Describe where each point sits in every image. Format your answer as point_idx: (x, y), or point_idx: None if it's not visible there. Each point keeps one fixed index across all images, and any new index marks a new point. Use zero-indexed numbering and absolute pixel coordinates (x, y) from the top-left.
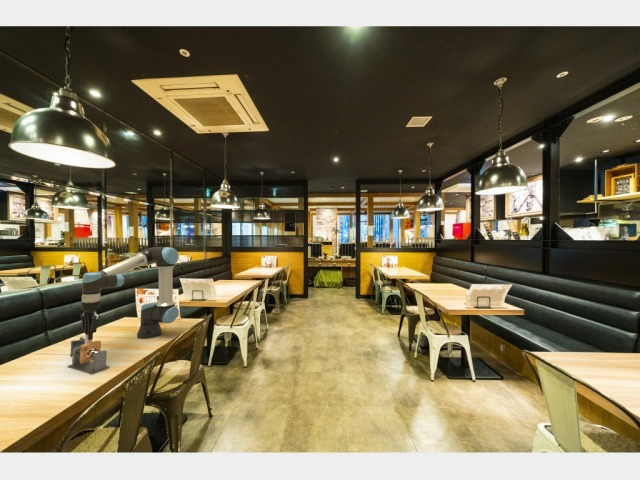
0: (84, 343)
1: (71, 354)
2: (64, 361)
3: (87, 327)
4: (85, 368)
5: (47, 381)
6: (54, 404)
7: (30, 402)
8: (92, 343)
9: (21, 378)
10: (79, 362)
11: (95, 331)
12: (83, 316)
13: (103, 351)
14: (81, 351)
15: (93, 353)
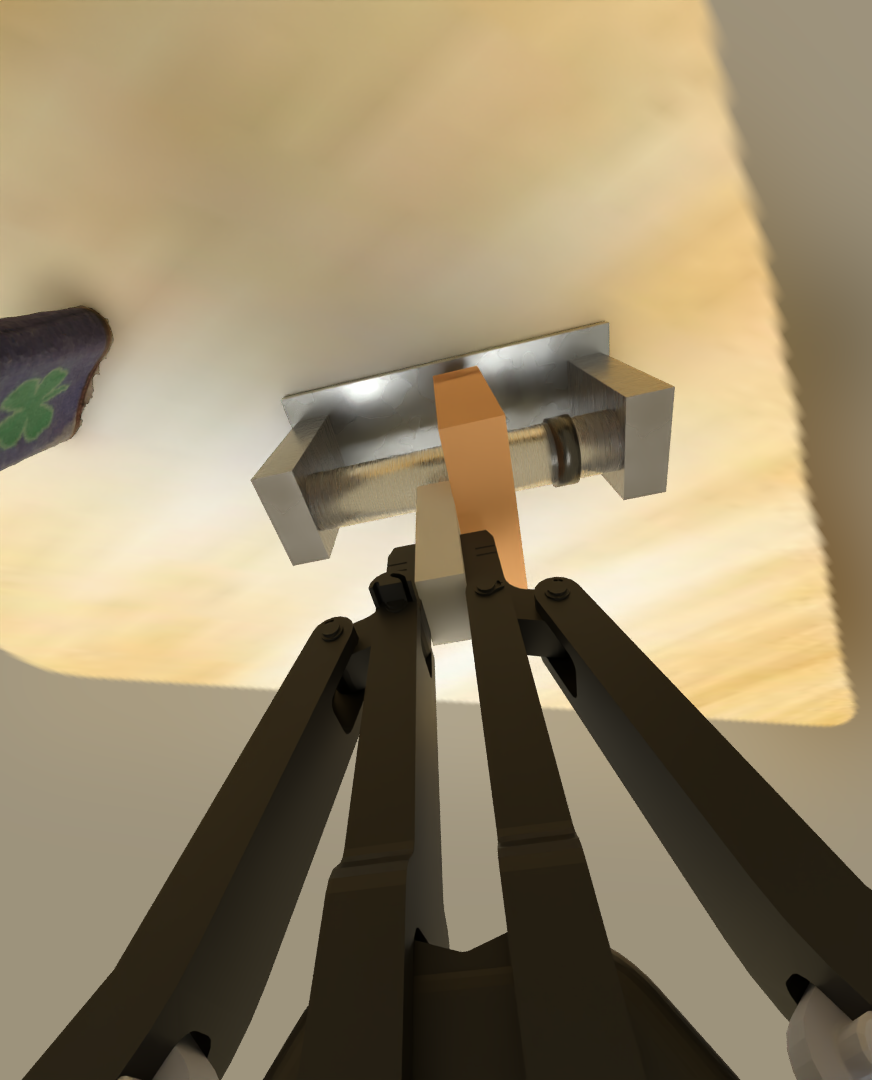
0: (6, 386)
1: (61, 439)
2: (177, 491)
3: (432, 717)
4: None
5: None
6: (756, 631)
7: None
8: (516, 512)
9: None
10: (339, 458)
11: (578, 596)
12: (207, 1070)
13: (667, 422)
14: None
15: (576, 481)
